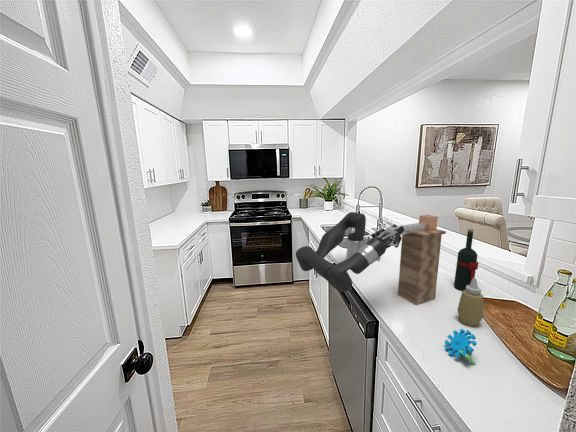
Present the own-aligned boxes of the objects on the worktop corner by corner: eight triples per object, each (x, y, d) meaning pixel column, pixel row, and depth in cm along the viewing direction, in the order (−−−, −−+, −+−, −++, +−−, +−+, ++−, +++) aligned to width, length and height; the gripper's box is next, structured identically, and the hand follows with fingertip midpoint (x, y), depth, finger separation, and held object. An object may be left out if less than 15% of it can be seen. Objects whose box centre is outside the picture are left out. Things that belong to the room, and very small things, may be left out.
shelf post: (416, 307, 108) (422, 235, 101) (394, 294, 118) (399, 229, 112) (438, 299, 113) (445, 231, 107) (415, 288, 124) (421, 225, 118)
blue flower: (439, 335, 87) (466, 322, 83) (451, 347, 87) (479, 335, 83) (448, 362, 77) (480, 349, 73) (462, 375, 77) (494, 363, 73)
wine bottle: (464, 294, 117) (472, 232, 111) (450, 284, 127) (456, 227, 121) (481, 294, 117) (489, 232, 111) (465, 284, 127) (472, 227, 121)
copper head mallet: (393, 236, 100) (394, 222, 99) (384, 234, 104) (385, 220, 103) (438, 229, 110) (439, 216, 109) (427, 227, 115) (428, 214, 113)
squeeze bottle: (474, 331, 92) (481, 285, 88) (451, 319, 99) (456, 276, 95) (486, 324, 95) (492, 280, 92) (463, 313, 102) (468, 272, 99)
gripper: (380, 250, 92) (411, 223, 96) (355, 240, 104) (383, 216, 109) (386, 265, 95) (416, 238, 99) (361, 253, 107) (389, 230, 111)
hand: (399, 227), depth 104 cm, fingers closed on copper head mallet, 3 cm apart
